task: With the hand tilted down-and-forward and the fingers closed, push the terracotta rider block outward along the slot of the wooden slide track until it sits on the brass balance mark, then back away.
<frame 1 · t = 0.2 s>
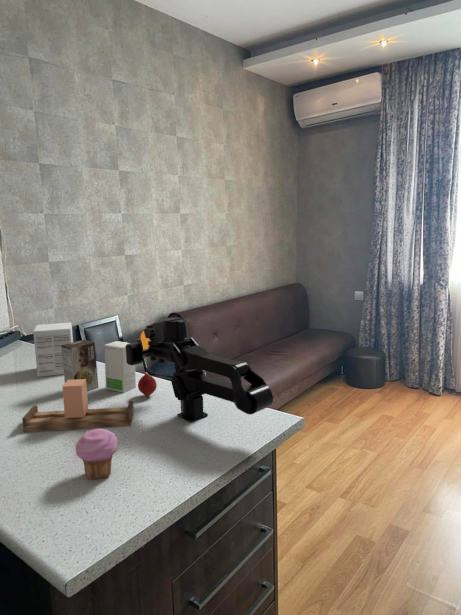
hand: (138, 345, 143), 17 cm above the countertop, tool horizontal, fingers open, 9 cm apart
supplement box: (56, 370, 175), on the countertop
coffee box: (81, 389, 153), on the countertop
wooden slide track: (81, 422, 126), on the countertop
skincare box: (121, 388, 153), on the countertop
cupcake: (99, 474, 99), on the countertop
onion: (147, 396, 145), on the countertop
rider: (75, 399, 125), point 7 cm above the countertop, slide at 0.0 cm
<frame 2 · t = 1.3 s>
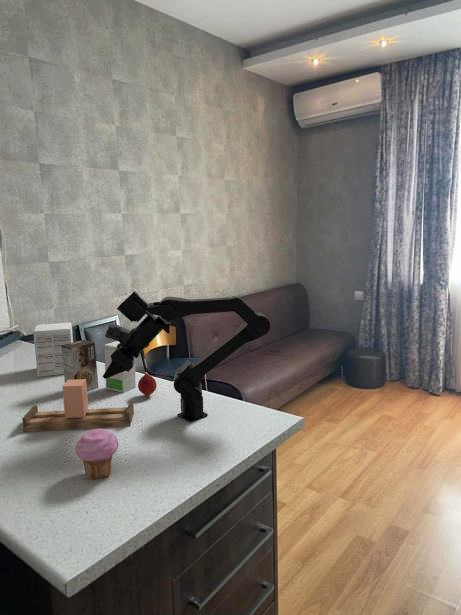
hand: (106, 373, 124), 14 cm above the countertop, tool tilted 45°, fingers open, 6 cm apart
nothing on the countertop moved.
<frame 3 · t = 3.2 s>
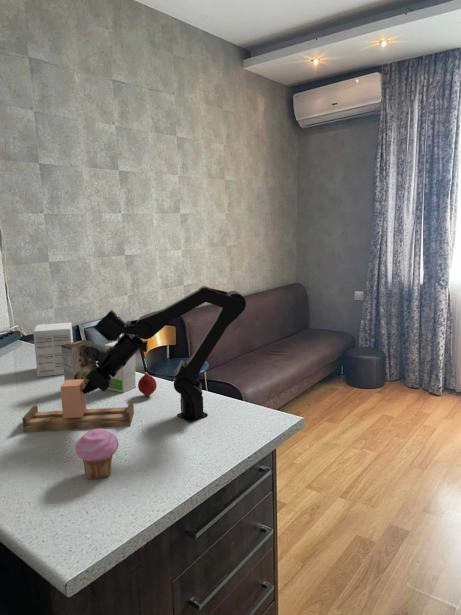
hand: (83, 392, 124), 9 cm above the countertop, tool tilted 45°, fingers closed, pressing on rider
rider: (73, 399, 125), point 7 cm above the countertop, slide at 0.5 cm, touching gripper
everything else where it was.
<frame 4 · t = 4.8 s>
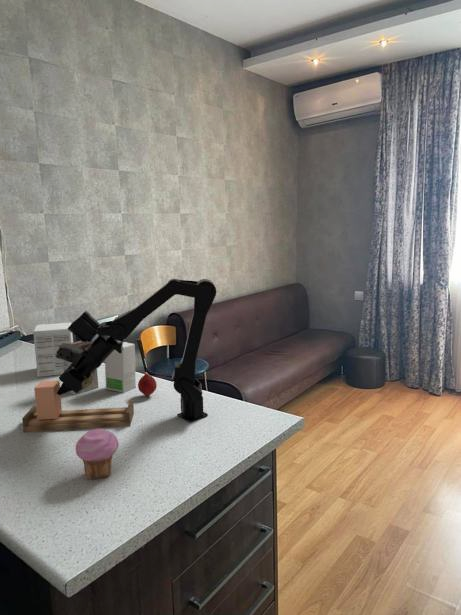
hand: (58, 393, 124), 9 cm above the countertop, tool tilted 45°, fingers closed
rider: (48, 401, 124), point 7 cm above the countertop, slide at 7.3 cm
everything else where it was.
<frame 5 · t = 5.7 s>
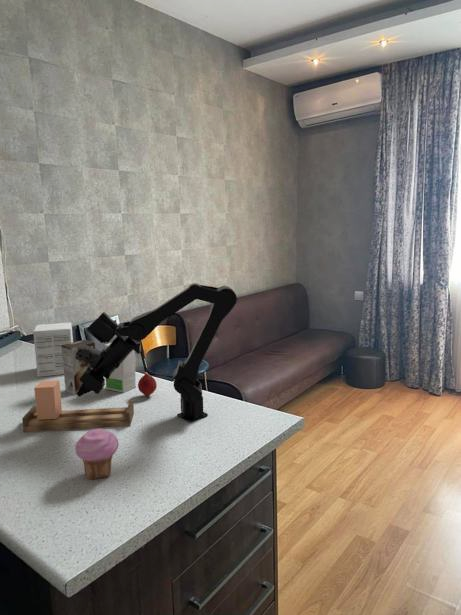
hand: (77, 395, 124), 8 cm above the countertop, tool tilted 45°, fingers closed
nothing on the countertop moved.
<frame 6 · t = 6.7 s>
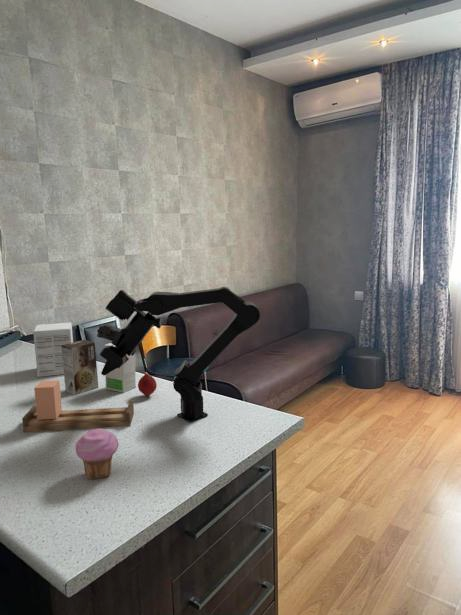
hand: (102, 374, 125), 13 cm above the countertop, tool tilted 40°, fingers closed
nothing on the countertop moved.
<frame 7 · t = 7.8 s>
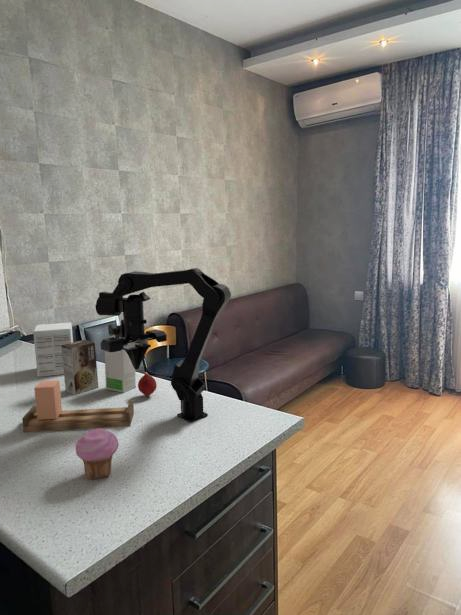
hand: (136, 369, 130), 13 cm above the countertop, tool pointing down, fingers closed
nothing on the countertop moved.
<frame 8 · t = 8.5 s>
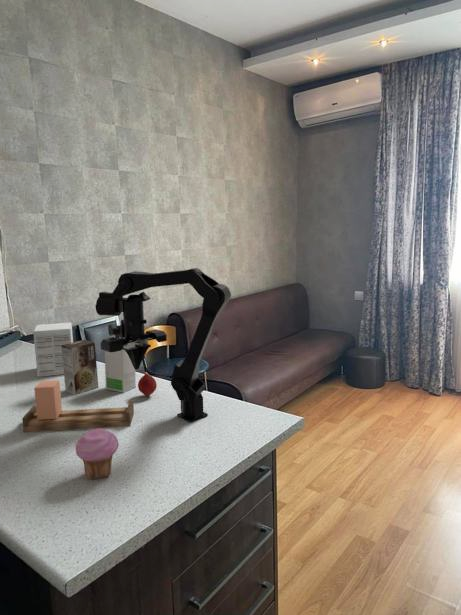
hand: (136, 369, 130), 13 cm above the countertop, tool pointing down, fingers closed
nothing on the countertop moved.
at the end: rider slide at 7.3 cm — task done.
